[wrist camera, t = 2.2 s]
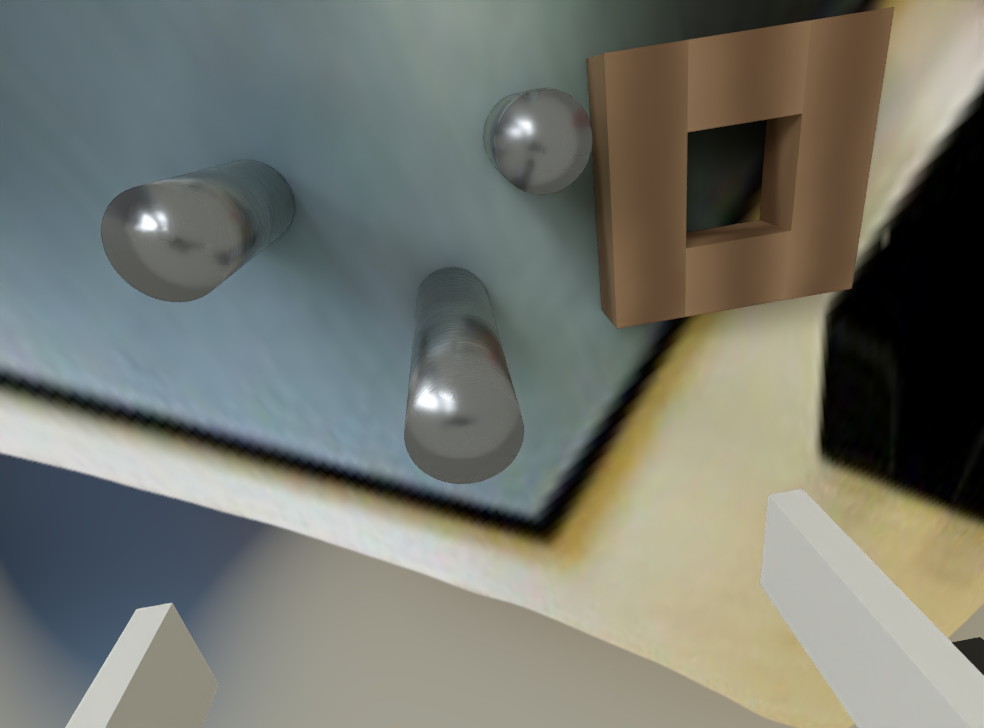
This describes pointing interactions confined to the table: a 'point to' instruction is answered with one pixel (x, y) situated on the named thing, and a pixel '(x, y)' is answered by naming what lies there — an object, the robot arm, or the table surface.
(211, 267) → the medium pin
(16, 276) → the table surface
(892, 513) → the table surface
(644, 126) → the socket plate
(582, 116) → the short pin
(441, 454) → the tall pin
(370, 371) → the table surface
